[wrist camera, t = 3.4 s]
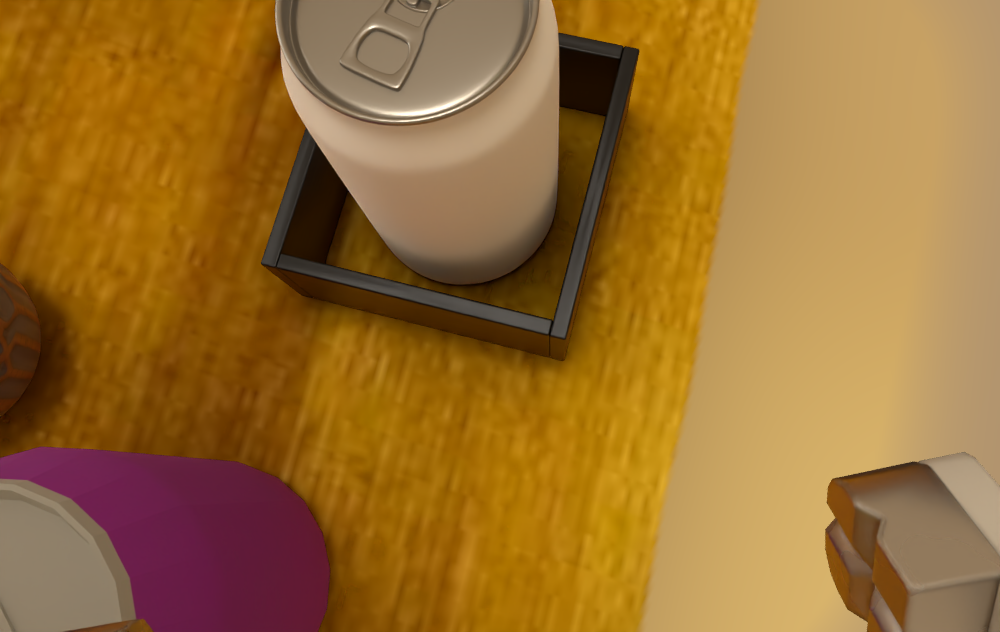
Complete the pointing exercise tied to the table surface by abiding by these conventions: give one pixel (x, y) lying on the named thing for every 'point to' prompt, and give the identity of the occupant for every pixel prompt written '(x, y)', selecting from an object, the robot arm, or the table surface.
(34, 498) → the beverage can
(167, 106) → the table surface
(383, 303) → the bottomless square frame
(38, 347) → the vase
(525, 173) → the can
